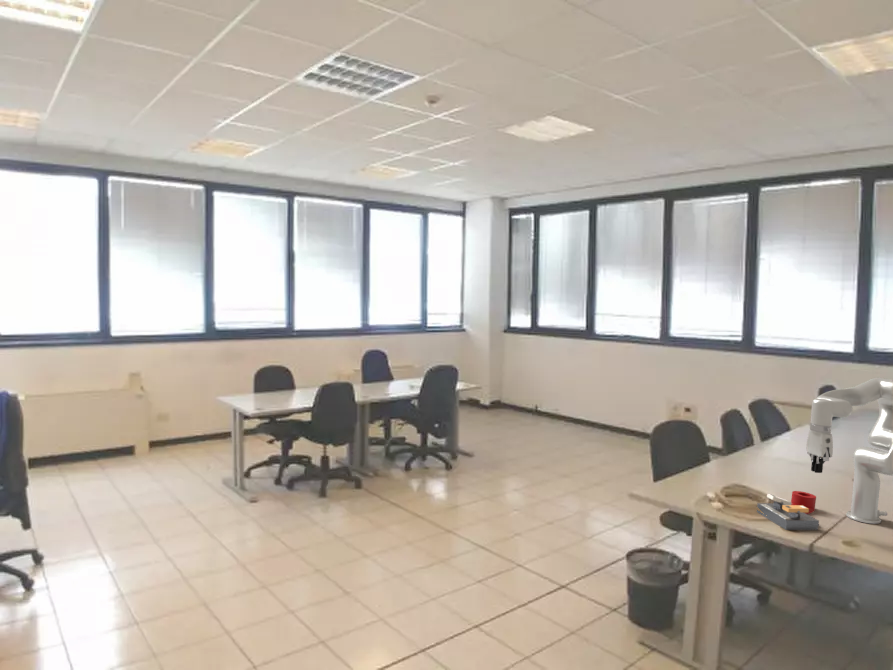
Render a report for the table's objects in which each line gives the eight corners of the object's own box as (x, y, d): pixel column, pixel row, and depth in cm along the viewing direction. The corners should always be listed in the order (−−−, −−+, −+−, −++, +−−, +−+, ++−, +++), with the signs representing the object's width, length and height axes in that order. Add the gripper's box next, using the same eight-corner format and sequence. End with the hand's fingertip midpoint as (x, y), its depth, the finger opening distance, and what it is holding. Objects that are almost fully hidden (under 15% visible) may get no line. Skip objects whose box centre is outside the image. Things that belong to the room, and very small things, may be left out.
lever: (792, 503, 281) (793, 489, 281) (815, 509, 276) (817, 495, 275) (786, 512, 267) (788, 498, 266) (810, 518, 261) (812, 503, 261)
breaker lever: (801, 509, 256) (801, 504, 256) (809, 513, 251) (809, 509, 251) (781, 509, 255) (781, 504, 255) (788, 513, 250) (789, 508, 250)
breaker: (783, 503, 267) (785, 499, 267) (790, 507, 262) (792, 503, 262) (765, 496, 266) (767, 492, 266) (772, 500, 261) (774, 496, 261)
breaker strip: (786, 512, 269) (787, 500, 268) (817, 530, 249) (819, 516, 249) (756, 512, 268) (757, 499, 267) (786, 529, 248) (787, 516, 247)
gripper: (842, 433, 244) (838, 477, 245) (815, 424, 259) (812, 466, 260) (825, 432, 243) (821, 477, 244) (799, 424, 258) (795, 466, 260)
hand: (816, 471), depth 252 cm, fingers closed
